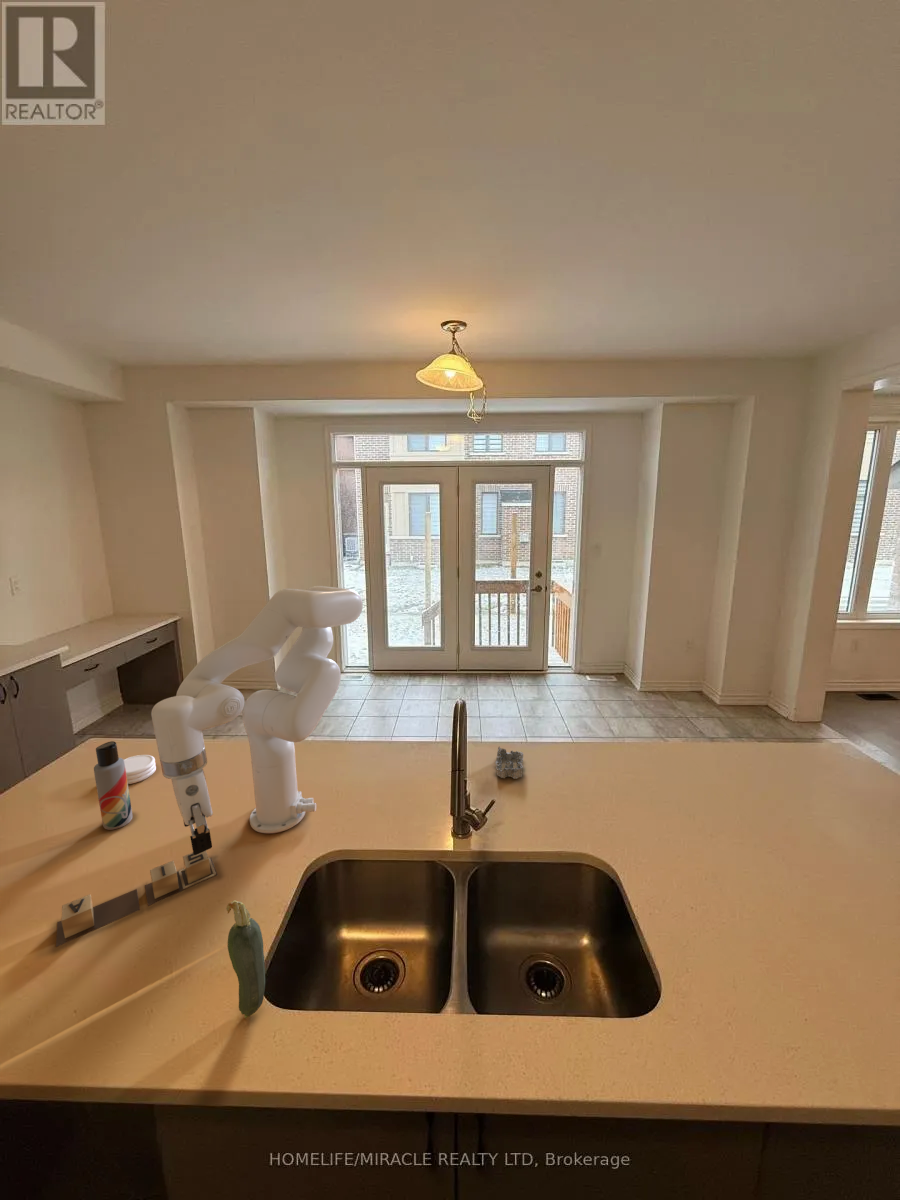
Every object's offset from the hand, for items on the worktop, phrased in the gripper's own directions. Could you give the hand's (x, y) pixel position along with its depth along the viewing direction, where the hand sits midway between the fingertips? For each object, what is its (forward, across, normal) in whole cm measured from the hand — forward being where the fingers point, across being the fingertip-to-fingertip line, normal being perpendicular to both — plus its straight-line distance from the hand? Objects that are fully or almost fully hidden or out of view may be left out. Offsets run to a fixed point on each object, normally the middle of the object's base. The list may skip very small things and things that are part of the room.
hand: (197, 836), depth 92 cm
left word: (+7, -1, +17) cm, 19 cm away
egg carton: (+11, -12, -76) cm, 77 cm away
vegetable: (+8, -35, 0) cm, 36 cm away
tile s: (+8, 0, +1) cm, 8 cm away
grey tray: (+8, -1, +4) cm, 9 cm away
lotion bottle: (+8, +29, +13) cm, 33 cm away
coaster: (+9, +50, +8) cm, 51 cm away
